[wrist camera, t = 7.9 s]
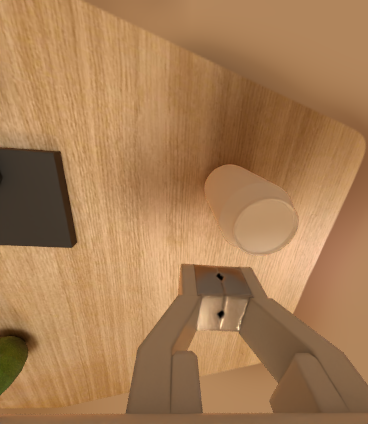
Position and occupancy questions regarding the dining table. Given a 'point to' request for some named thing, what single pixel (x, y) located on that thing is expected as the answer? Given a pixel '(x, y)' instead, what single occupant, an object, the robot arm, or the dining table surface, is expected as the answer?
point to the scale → (34, 200)
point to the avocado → (11, 360)
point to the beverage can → (250, 210)
